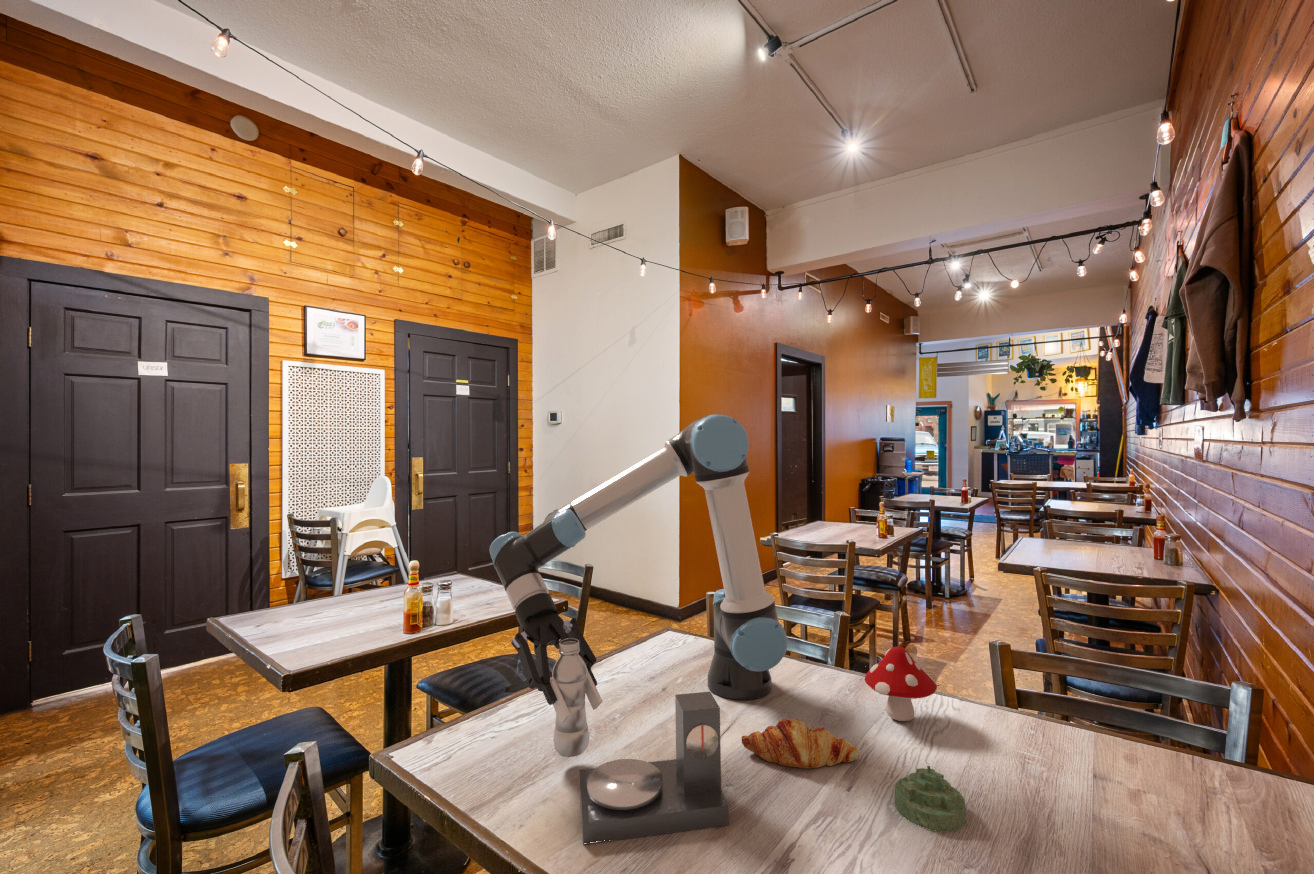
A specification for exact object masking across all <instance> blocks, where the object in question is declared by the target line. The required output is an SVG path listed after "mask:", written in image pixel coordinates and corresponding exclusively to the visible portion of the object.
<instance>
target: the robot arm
mask: <svg viewBox="0 0 1314 874" xmlns="http://www.w3.org/2000/svg"><path fill="white" fill-rule="evenodd" d="M749 446H750V441H749V436H748V433H747V431H746V429H745V427H744V426H743V425H742V423H740V422H739V421H738V420H736V419H735V418H733V417H732V416H729V415H726V414H721V413H715V414H709V415H706V416H703V417H700V418H698V419H696V420H694V421H692V422H691V423H690V424H689V425H687V426H686V427H685V428H684V429H682V430H681V431H679V433H677V434H675V436H672V437H671V438H669V439H667V440H666V441H665V443H664V447H663V448H661V449H659V450H658V451H656V452H654V453H652V454H651V455H648V457H646V458H644V459H642V460H640V461H638V462H637V463H635V464H633V465H632V466H630V467H628V468H627V469H625V470H623V471H622V472H619V474H616V475H615V476H613V477H611V478H609V479H608V480H606V481H604V482H602V483H601V484H599V485H597V486H595V487H594V488H593V489H590V490H589V491H587V492H586V493H584V494H581V495H580V496H579V497H577V498H575V499H574V500H572V501H571V502H569V503H567V504H565V505H562V507H560V508H557V509H554V510H553V511H551V512H549V513H548V514H547V516H546V517H545V519H544V521H543V522H541V523H540V524H539V525H537V526H536V527H535V528H533V529H532V530H530V531H529V532H527V533H525V534H521V533H519V532H517V531H509V532H507V533H505V534H501V535H499V536H498V537H496V538H495V539H494V540H492V542H491V544H490V545H489V551H488V552H489V554H490V558H491V560H492V563H493V564H492V565H493V569H494V570H495V571H496V573H497V576H498V577H499V580H500V582H501V584H502V585H503V588H504V591H505V593H506V595H507V598H508V600H509V602H510V605H511V607H512V609H513V610H514V614H515V616H516V617H515V618H516V619H517V622H518V624H519V626H520V627H521V629H522V632H521V633H520V632H516V634H515V635H514V637H513V638H512V640H511V645H512V646H513V648H514V649H515V651H516V652H517V654H518V658H519V661H520V664H521V667H522V670H523V673H524V676H525V678H526V679H525V680H526V682H527V685H528V687H529V689H531V690H534V689H537V690H538V692H542V693H543V695H544V698H545V700H546V703H547V704H548V705H549V706H551V705H552V706H553V708H554V711H555V714H556V713H557V716H558V718H559V720H560V723H564V722H565V721H566V720H567V718H568V717H569V716H570V713H569V710H568V708H567V706H566V704H565V701H564V699H563V697H562V695H561V692H560V690H559V688H558V686H557V683H556V681H555V680H554V681H553V680H552V681H551V675H550V666H549V657H548V649H547V648H548V646H554V647H555V648H556V649H557V650H559V642H560V641H561V640H564V639H569V638H574V639H578V640H579V648H580V652H579V653H578V654H579V655H580V657H581V658H582V659H583V661H584V662H585V664H586V667H587V680H586V690H585V696H586V698H587V700H588V701H589V703H590V705H591V708H592V710H593V711H595V710H596V709H598V708H599V707H600V705H601V704H602V703H603V699H602V697H601V695H600V693H599V691H598V689H597V685H598V681H597V679H596V676H595V675H594V672H593V670H592V668H593V666H594V665H595V663H596V662H597V660H598V659H597V657H596V656H595V654H594V651H592V649H591V647H590V645H589V644H588V642H587V640H586V639H585V637H584V635H583V633H582V632H581V630H580V628H579V624H578V620H577V618H576V617H572V618H571V619H570V620H563V618H562V617H561V616H560V615H559V613H558V609H557V606H556V603H555V601H554V600H553V598H552V596H551V594H550V592H549V589H548V587H547V585H546V583H545V580H544V578H543V577H542V575H541V573H540V571H539V569H540V568H541V567H543V566H545V565H546V564H547V563H548V562H551V561H552V560H554V559H555V558H556V557H558V556H560V555H561V554H564V552H566V551H568V550H570V549H571V548H575V546H576V545H577V544H578V543H580V542H581V541H582V540H584V539H585V538H586V531H588V530H589V529H591V528H593V527H594V526H597V525H598V524H600V523H601V522H602V521H603V522H604V520H607V519H608V518H610V517H612V516H613V515H615V514H617V513H619V511H622V510H623V509H625V508H627V507H628V506H630V505H632V504H634V503H635V502H637V501H639V500H641V499H642V498H644V497H646V496H647V495H649V494H651V493H652V492H654V491H656V490H658V489H659V488H661V487H663V486H665V485H666V484H668V483H670V482H671V481H673V480H674V479H676V478H678V477H680V476H682V477H685V478H686V477H689V476H690V475H692V474H694V479H695V483H696V484H698V485H699V486H700V487H702V488H703V489H704V493H705V499H706V503H707V509H708V514H709V520H710V524H711V529H712V534H713V539H714V540H713V541H714V545H715V550H716V555H717V556H716V557H717V560H718V564H719V570H720V575H721V579H722V580H721V581H722V586H723V588H721V589H720V588H719V589H717V590H716V591H715V592H714V594H713V602H712V606H713V639H714V640H713V641H714V642H713V644H714V647H713V648H714V653H713V655H712V660H711V662H710V666H709V670H708V673H707V688H708V690H709V691H710V692H712V693H713V694H715V695H717V696H719V697H721V698H725V699H731V700H739V701H741V700H742V701H744V700H748V701H749V700H755V699H760V698H763V697H765V696H767V695H768V694H770V693H771V691H772V689H773V688H772V684H773V683H772V682H773V680H772V676H771V673H770V670H771V669H773V668H774V667H776V666H778V664H779V663H780V662H781V661H782V660H783V658H784V657H785V655H786V652H787V650H788V642H789V641H788V636H787V633H786V630H785V627H784V626H783V625H782V624H781V623H780V622H779V617H778V612H777V607H776V603H775V602H776V601H775V598H774V595H772V594H771V593H769V592H768V591H766V588H765V582H764V578H763V573H762V568H761V563H760V558H759V552H758V547H757V542H756V537H755V532H754V527H753V522H752V516H751V511H750V506H749V500H748V496H747V491H746V486H745V480H746V479H747V477H748V475H749V474H750V469H749V463H748V457H747V455H748V452H749ZM564 630H565V631H564ZM528 641H529V642H530V643H532V644H533V651H534V655H535V659H536V661H535V660H534V658H533V655H532V651H531V649H530V645H529V643H528ZM535 662H536V663H535Z"/></svg>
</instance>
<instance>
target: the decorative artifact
mask: <svg viewBox="0 0 1314 874" xmlns="http://www.w3.org/2000/svg"><path fill="white" fill-rule="evenodd" d="M944 777H945V776H944V774H942V773H940V772H937V771H935V769H933V768H931V766H930V765H927V766H926V768H925V767H922V768H916V771H915V772H912V773H910V774H908V775H907V776H905V777H903V778H900V779H898V780H897V782H896V783H895V784H894V799H895V800H894V802H895V803H894V804H895V809H896V810H897V812H898V813H899V814H900V816H902V817H903V818H904V817H905V818H906V820H907V821H908V820H909V821H908V822H910V823H911V822H912V824H913V823H914V824H913V825H915V824H916V825H915V826H917V825H919V826H921V827H920V828H922V827H924V828H923V829H925V828H927V829H926V830H928V829H930V830H929V831H932V830H936V831H935V832H938V831H940V832H941V831H942V833H949V832H950V831H951V832H955V830H956V831H958V830H960V829H962V828H963V827H964V826H965V824H966V823H967V822H966V821H967V816H966V812H967V811H966V808H967V807H966V805H967V804H966V800H965V798H964V796H963V794H962V793H961V792H960V791H959V790H958V789H956V788H955V787H953V786H952V785H951V783H950V782H949V781H948V780H947V779H945V778H944ZM905 818H904V819H905ZM919 826H918V827H919ZM947 831H948V832H947Z"/></svg>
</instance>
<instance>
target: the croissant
mask: <svg viewBox="0 0 1314 874" xmlns="http://www.w3.org/2000/svg"><path fill="white" fill-rule="evenodd" d="M741 744H742V745H743V747H744V748H745V749H747V750H748V751H750V752H752V753H754V754H755V755H757V756H759V758H761V759H762V760H764V761H766V762H769V763H774V764H778V765H780V766H783V767H789V768H800V769H816V768H822V767H824V766H827V767H830V766H835V765H837V764H841V763H847V764H848V763H850V762H853V761H856V760H857V759H858V758H859V756H860V753H861V751H860V749H859V748H857V747H856V746H853V744H851V743H850V741H847V739H846V738H844V737H842V738H838V737H836V735H834V734H833V733H831V732H830V731H829V730H827V729H826V727H818V728H815V727H814V728H813V727H812V728H811V727H810V726H808V725H807V723H806V722H804V721H802V720H800V719H795V718H783V719H781V720H778V722H777V724H776V725H769V726H767V727H766V728H765V729H764V730H763V731H762V732H761V731H753V732H751V733H750V734H749V735H742V736H741Z"/></svg>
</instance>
